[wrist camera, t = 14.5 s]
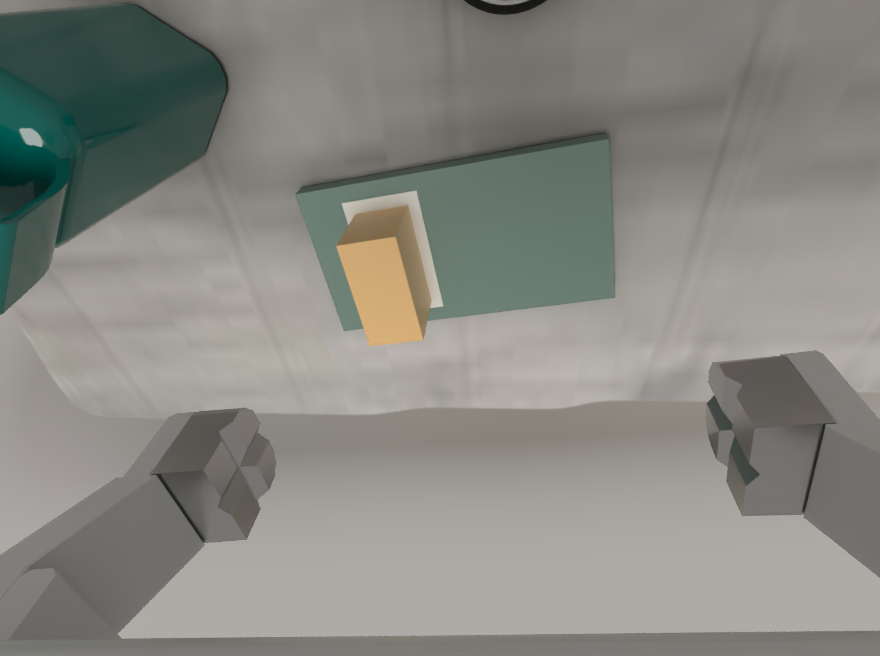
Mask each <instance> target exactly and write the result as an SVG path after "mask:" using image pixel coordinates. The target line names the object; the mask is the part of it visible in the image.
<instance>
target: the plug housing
mask: <svg viewBox="0 0 880 656" xmlns="http://www.w3.org/2000/svg"><path fill="white" fill-rule="evenodd" d="M336 247H337V250H338V253H339V256H340V259H341V262H342V265H343V268H344V271H345V274H346V277H347V280H348V283H349V286H350V289H351V292H352V295H353V298H354V301H355V304H356V307H357V310H358V313H359V316H360V319H361V322H362V325H363V328H364V331H365V334H366V337H367V340H368V343H369V346H377V345H385V344H393V343H402V342H410V341H419V340H423V339H424V334H425V330H426V325H427V320H428V315H429V311H430V306H431V301H432V300H431V296H430V292H429V288H428V284H427V280H426V276H425V272H424V268H423V264H422V260H421V256H420V252H419V248H418V244H417V240H416V235H415V231H414V227H413V223H412V219H411V215H410V211H409V207H408V205H406V206H400V207H395V208H389V209H383V210H377V211H371V212H365V213H359V214H355V215H354V217H353V219H352V220H351V222H350V224H349V225H348V227H347V229H346V230H345V232H344V234H343V235H342V237H341V239H340V240H339V242H338V244H337V245H336Z"/></svg>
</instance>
